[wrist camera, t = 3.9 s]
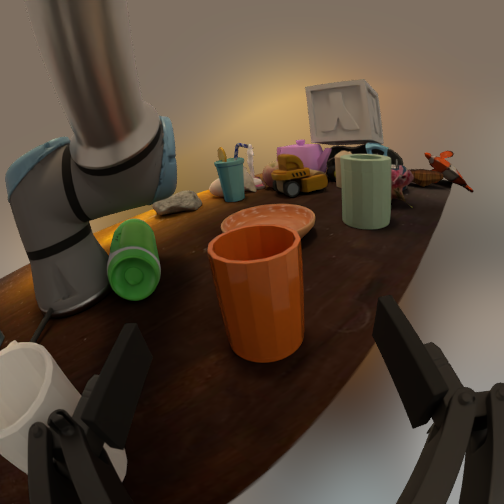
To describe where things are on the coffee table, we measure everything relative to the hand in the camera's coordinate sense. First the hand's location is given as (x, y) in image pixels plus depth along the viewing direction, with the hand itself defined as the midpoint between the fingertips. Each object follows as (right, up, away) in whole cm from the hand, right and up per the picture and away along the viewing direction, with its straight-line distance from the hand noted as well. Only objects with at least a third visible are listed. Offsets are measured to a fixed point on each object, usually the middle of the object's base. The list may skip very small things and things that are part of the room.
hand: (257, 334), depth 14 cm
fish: (+56, +28, +46) cm, 78 cm away
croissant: (+49, +28, +52) cm, 77 cm away
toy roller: (+13, +20, +58) cm, 63 cm away
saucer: (+3, +7, +34) cm, 35 cm away
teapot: (+16, +27, +71) cm, 78 cm away
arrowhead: (-5, +29, +64) cm, 71 cm away
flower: (+31, +15, +43) cm, 55 cm away
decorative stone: (-20, +15, +57) cm, 62 cm away
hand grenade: (+25, +30, +70) cm, 80 cm away
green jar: (+21, +10, +35) cm, 42 cm away
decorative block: (+31, +39, +66) cm, 83 cm away
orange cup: (+1, -4, +12) cm, 13 cm away
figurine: (-1, +25, +70) cm, 74 cm away
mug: (-14, -12, +1) cm, 19 cm away
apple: (+9, +23, +66) cm, 70 cm away
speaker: (-22, +5, +23) cm, 32 cm away
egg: (-4, +23, +63) cm, 67 cm away
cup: (-4, +18, +59) cm, 61 cm away
